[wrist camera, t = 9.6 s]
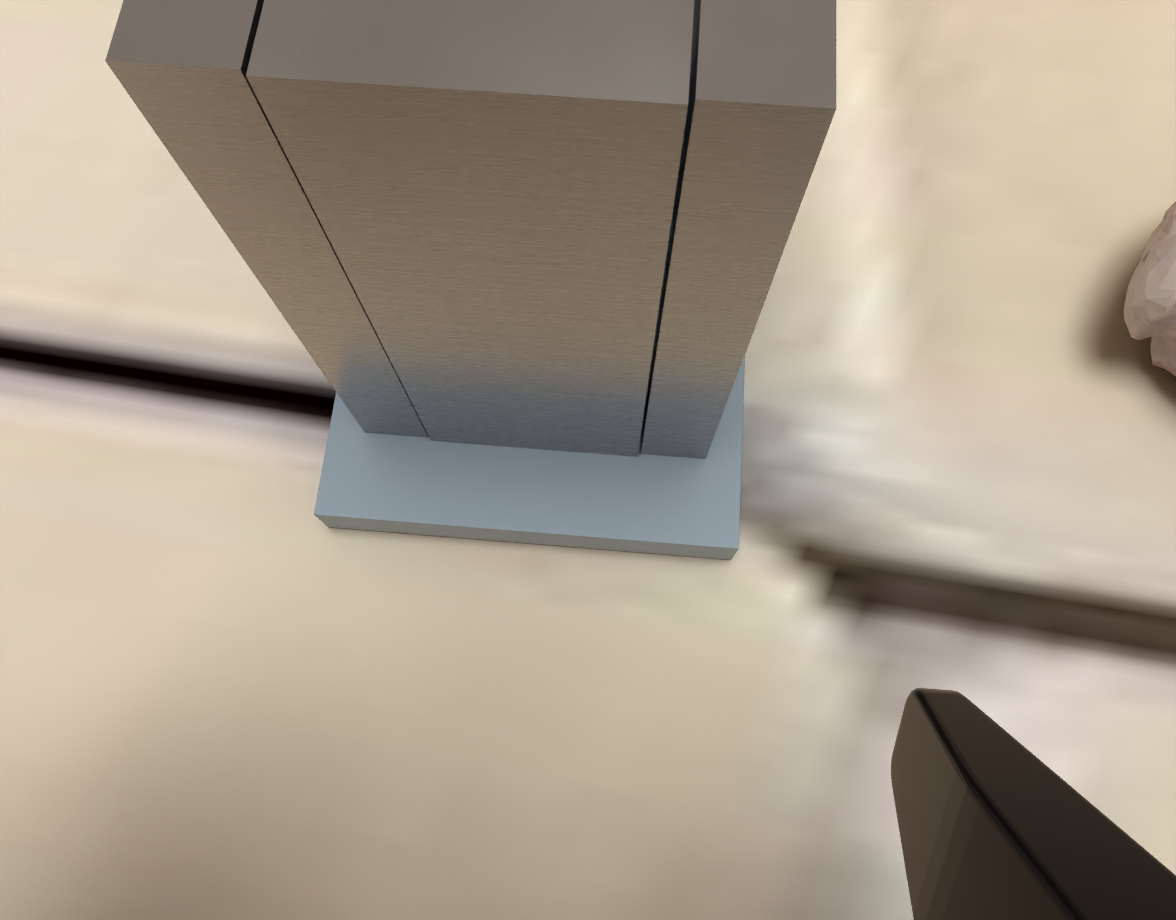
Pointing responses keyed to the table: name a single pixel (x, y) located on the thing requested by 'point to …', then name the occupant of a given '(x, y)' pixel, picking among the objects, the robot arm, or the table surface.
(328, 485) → the shaft stand
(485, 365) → the open metal box
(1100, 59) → the table surface
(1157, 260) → the fossil
